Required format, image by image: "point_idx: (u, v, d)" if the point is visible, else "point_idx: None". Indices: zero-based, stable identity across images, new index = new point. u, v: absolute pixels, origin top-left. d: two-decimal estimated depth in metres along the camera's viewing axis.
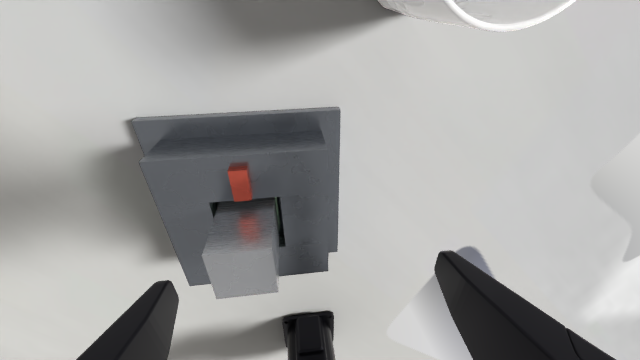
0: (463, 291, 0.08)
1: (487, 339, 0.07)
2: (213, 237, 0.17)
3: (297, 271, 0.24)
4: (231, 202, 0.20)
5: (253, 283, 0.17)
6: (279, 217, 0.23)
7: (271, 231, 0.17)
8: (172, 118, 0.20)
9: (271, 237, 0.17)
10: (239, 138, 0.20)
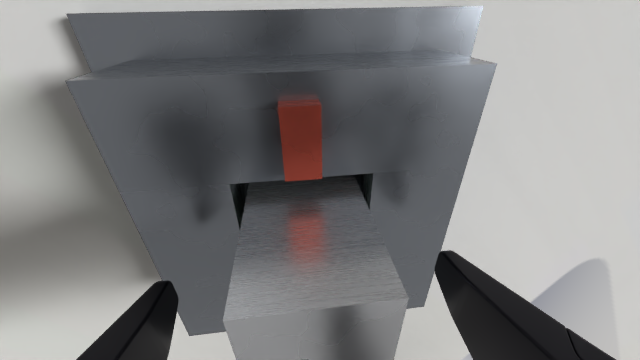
0: (463, 291, 0.08)
1: (487, 339, 0.07)
2: (248, 264, 0.07)
3: None
4: (273, 185, 0.10)
5: None
6: None
7: (384, 248, 0.07)
8: (152, 12, 0.09)
9: (390, 264, 0.07)
10: (289, 57, 0.10)
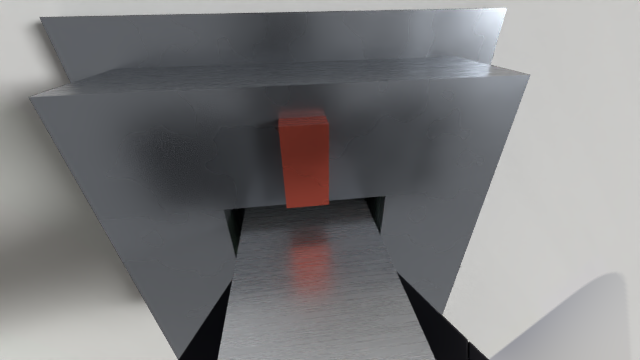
0: None
1: None
2: (244, 313, 0.06)
3: None
4: (272, 208, 0.09)
5: None
6: None
7: (402, 292, 0.06)
8: (137, 15, 0.08)
9: (411, 313, 0.06)
10: (290, 65, 0.09)
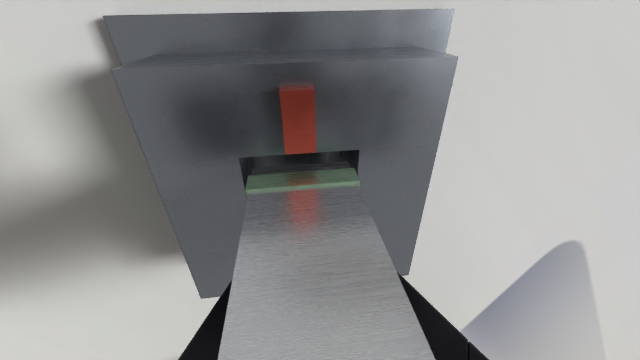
0: None
1: None
2: (244, 313, 0.06)
3: None
4: (272, 208, 0.09)
5: None
6: None
7: (402, 291, 0.06)
8: (174, 14, 0.11)
9: (411, 313, 0.06)
10: (288, 52, 0.12)
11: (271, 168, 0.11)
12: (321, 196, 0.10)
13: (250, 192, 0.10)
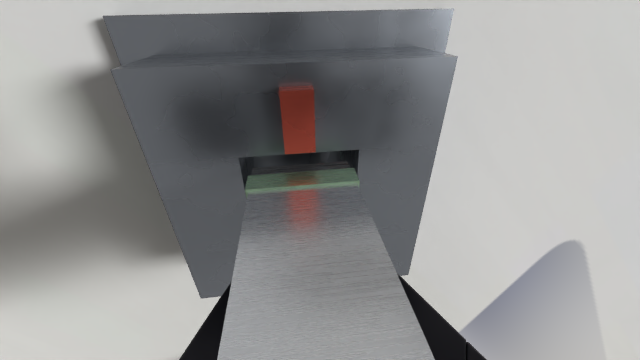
0: None
1: None
2: (243, 313, 0.06)
3: None
4: (272, 208, 0.09)
5: None
6: None
7: (402, 291, 0.06)
8: (174, 14, 0.11)
9: (410, 313, 0.06)
10: (288, 52, 0.12)
11: (271, 168, 0.11)
12: (321, 196, 0.10)
13: (250, 192, 0.10)
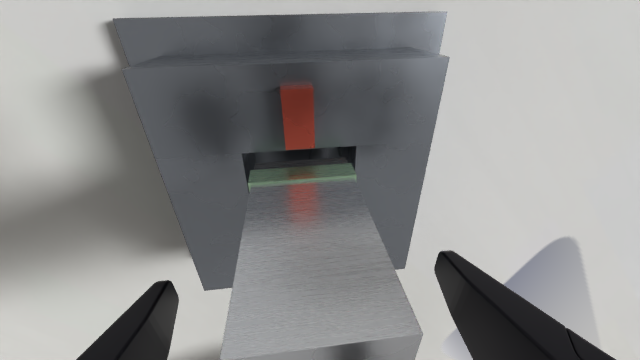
0: (463, 291, 0.08)
1: (487, 339, 0.07)
2: (248, 292, 0.06)
3: None
4: (274, 200, 0.10)
5: None
6: None
7: (393, 273, 0.07)
8: (180, 17, 0.12)
9: (401, 291, 0.06)
10: (288, 53, 0.12)
11: (272, 163, 0.12)
12: (320, 189, 0.10)
13: (252, 185, 0.10)
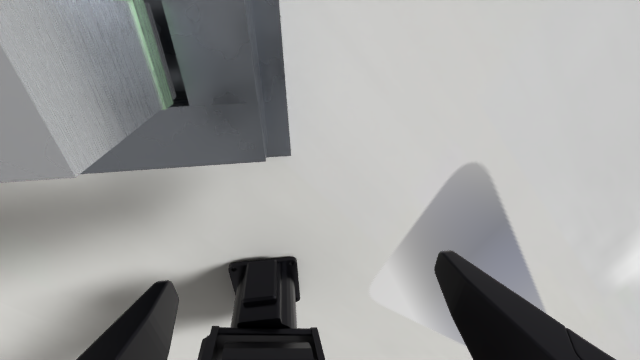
0: (463, 291, 0.08)
1: (487, 339, 0.07)
2: None
3: (217, 159, 0.16)
4: None
5: None
6: (164, 85, 0.12)
7: None
8: None
9: None
10: None
11: None
12: None
13: None
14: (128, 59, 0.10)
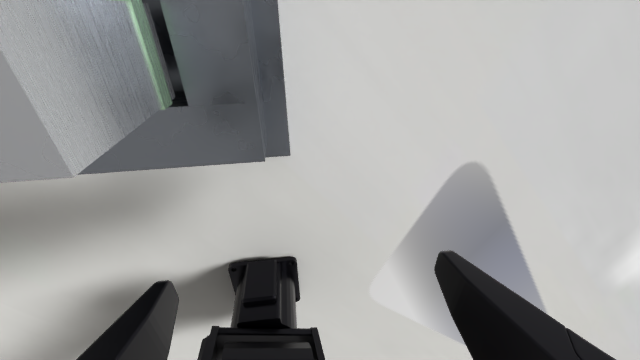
0: (463, 291, 0.08)
1: (487, 339, 0.07)
2: None
3: (216, 159, 0.16)
4: None
5: None
6: (163, 85, 0.12)
7: None
8: None
9: None
10: None
11: None
12: None
13: None
14: (126, 59, 0.10)
